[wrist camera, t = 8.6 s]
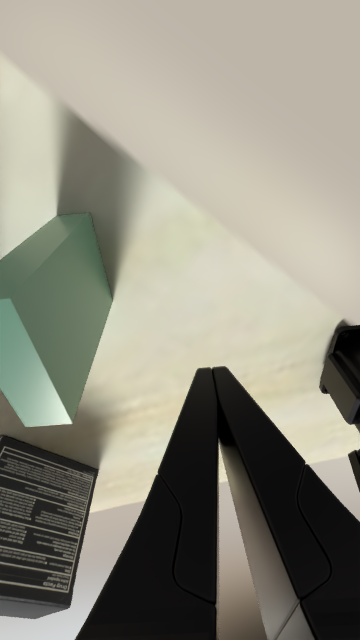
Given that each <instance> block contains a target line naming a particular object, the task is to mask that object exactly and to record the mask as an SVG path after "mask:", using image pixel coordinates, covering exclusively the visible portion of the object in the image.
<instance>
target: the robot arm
mask: <svg viewBox="0 0 360 640" xmlns="http://www.w3.org/2000/svg"><path fill="white" fill-rule="evenodd" d="M343 333H345V334H343ZM342 334H343V335H342ZM319 388H320V390H321V392H322V393H324V394H330V396H331V398H332V399H333V401H334V403H335V404H336V406H337V408H338V409H339V411H340V413H341V414H342V416H343V418H344V419H345V421H346V422H347V423H348V424H350V425H352V424H355V426H356V428H357V429H358V431H359V433H360V325H356V326H344V327H340V328H338V329H337V330H336V331H335V334H334V337H333V340H332V344H331V347H330V351H329V354H328V356H327V358H326V361H325V365H324V368H323V372H322V375H321V382H320V386H319ZM219 444H220V449H221V453H222V457H223V461H224V465H225V470H226V474H227V478H228V482H229V486H230V490H231V494H232V497H233V502H234V505H235V510H236V514H237V518H238V522H239V526H240V530H241V534H242V538H243V543H244V546H245V550H246V555H247V559H248V563H249V566H250V571H251V575H252V579H253V583H254V587H255V591H256V595H257V599H258V603H259V607H260V611H261V616H262V620H263V624H264V628H265V632H266V636H267V640H360V522H359V521H358V520H357V519H356V518H355V516H354V515H353V514H352V513H351V512H349V510H348V509H347V508H346V507H344V505H343V504H342V503H341V502H340V501H339V500H338V499H337V497H336V496H335V495H334V494H333V493H332V492H331V491H330V490H329V489H328V487H327V486H326V485H325V484H324V483H323V482H322V480H321V479H320V478H319V477H318V476H317V475H316V473H315V472H314V471H313V470H312V468H311V467H310V466H309V465H308V464H306V465H305V463H306V462H305V460H304V459H303V458H302V457H301V455H300V454H299V453H298V452H297V451H296V449H295V448H294V447H293V446H292V445H291V443H290V442H289V441H288V440H287V439H286V438H285V436H284V435H283V434H282V433H281V432H280V430H279V429H278V428H277V427H276V426H275V424H274V423H273V422H272V421H271V420H270V418H269V417H268V416H267V415H266V414H265V412H264V411H263V410H262V409H261V408H260V406H259V405H258V404H257V403H256V402H255V400H254V399H253V398H252V397H251V396H250V394H249V393H248V392H247V391H246V390H245V388H244V387H243V386H242V385H241V384H240V382H239V381H238V380H237V379H236V378H235V377H234V375H233V374H232V373H231V372H230V371H229V369H228V368H227V367H225V366H220V367H213V368H212V369H211V368H210V367H207V368H198V369H197V371H196V373H195V376H194V378H193V381H192V384H191V386H190V389H189V391H188V394H187V397H186V399H185V402H184V404H183V407H182V410H181V412H180V415H179V417H178V420H177V423H176V425H175V428H174V430H173V433H172V436H171V438H170V441H169V443H168V446H167V449H166V451H165V454H164V456H163V459H162V462H161V464H160V467H159V469H158V474H157V475H156V477H155V479H154V482H153V484H152V487H151V490H150V492H149V494H148V497H147V499H146V502H145V504H144V506H143V509H142V511H141V514H140V516H139V518H138V520H137V522H136V524H135V526H134V528H133V530H132V532H131V534H130V536H129V538H128V540H127V542H126V544H125V546H124V548H123V550H122V552H121V554H120V556H119V558H118V560H117V562H116V564H115V565H114V567H113V570H112V571H111V573H110V575H109V577H108V579H107V581H106V583H105V585H104V587H103V589H102V591H101V593H100V595H99V596H98V598H97V600H96V602H95V604H94V606H93V608H92V610H91V612H90V614H89V616H88V618H87V619H86V621H85V623H84V625H83V626H82V628H81V630H80V632H79V633H78V635H77V637H76V639H75V640H219ZM348 457H349V460H350V463H351V466H352V469H353V473H354V476H355V479H356V482H357V485H358V488H359V491H360V449H359V450H354V451H352V452H351V453H349V454H348Z"/></svg>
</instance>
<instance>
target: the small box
mask: <svg viewBox="0 0 360 640" xmlns="http://www.w3.org/2000/svg"><path fill="white" fill-rule="evenodd" d="M98 472H99V471H98V470H97V469H95V468H91V467H89V466H86V465H83V464H80V463H78V462H75V461H72V460H69V459H67V458H63V457H61V456H58V455H55V454H53V453H50V452H47V451H44V450H41V449H39V448H36V447H33V446H30V445H28V444H25V443H22V442H19V441H17V440H14V439H11V438H8V437H6V436H1V437H0V616H9V617H19V618H30V619H36V618H40V617H43V616H46V615H49V614H52V613H55V612H59V611H62V610H65V609H68V608H70V605H71V601H72V595H73V587H74V583H75V579H76V572H77V567H78V563H79V558H80V553H81V549H82V544H83V539H84V535H85V530H86V525H87V521H88V516H89V511H90V506H91V502H92V498H93V492H94V488H95V483H96V479H97V476H98Z"/></svg>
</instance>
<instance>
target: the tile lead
mask: <svg viewBox="0 0 360 640" xmlns="http://www.w3.org/2000/svg"><path fill="white" fill-rule="evenodd" d="M112 302H113V300H112V297H111V293H110V289H109V285H108V281H107V277H106V273H105V269H104V266H103V262H102V258H101V254H100V250H99V246H98V242H97V238H96V234H95V231H94V227H93V223H92V219H91V215H90V213H80V214H69V215H59V216H55V217H54V218H53V219H52V220H50V221H49V222H48V223H47V224H45V225H44V226H43V227H41V228H40V229H39V230H38V231H36V232H35V233H34V234H33V235H31V236H30V237H29V238H27V239H26V240H25V241H24V242H22V243H21V244H20V245H19V246H17V247H16V248H15V249H14V250H12V251H11V252H10V253H8V254H7V255H6V256H5V257H3V258H2V259H1V260H0V389H1V391H2V392H3V394H4V395H5V397H6V398H7V400H8V401H9V403H10V404H11V406H12V407H13V409H14V410H15V412H16V413H17V415H18V416H19V418H20V419H21V421H22V422H23V424H24V425H25V427H36V426H49V425H62V424H73V421H74V417H75V414H76V411H77V408H78V405H79V402H80V399H81V396H82V393H83V390H84V387H85V384H86V381H87V378H88V375H89V372H90V369H91V366H92V363H93V360H94V357H95V354H96V351H97V348H98V344H99V341H100V338H101V335H102V332H103V329H104V326H105V323H106V320H107V317H108V314H109V311H110V308H111V305H112Z"/></svg>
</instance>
